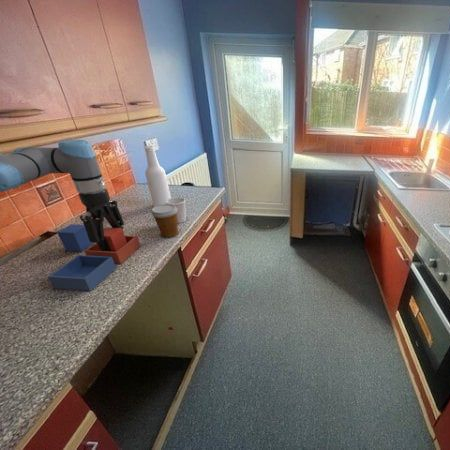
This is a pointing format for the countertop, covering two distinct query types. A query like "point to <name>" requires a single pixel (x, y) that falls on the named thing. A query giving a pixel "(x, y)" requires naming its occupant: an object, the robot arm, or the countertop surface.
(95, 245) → the red bin
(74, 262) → the blue bin
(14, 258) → the countertop surface
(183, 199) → the dixie cup
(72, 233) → the blue block
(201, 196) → the countertop surface
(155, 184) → the white bottle
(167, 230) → the disposable coffee cup
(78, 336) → the countertop surface
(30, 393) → the countertop surface
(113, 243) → the red block
